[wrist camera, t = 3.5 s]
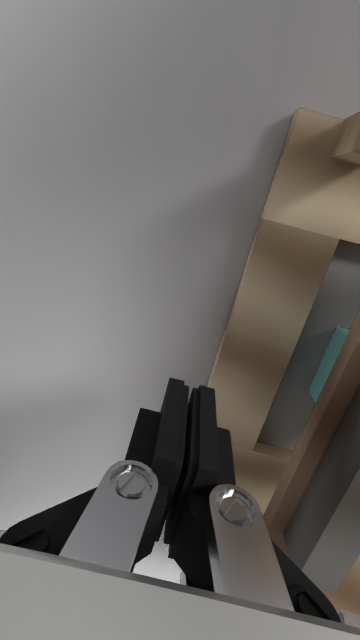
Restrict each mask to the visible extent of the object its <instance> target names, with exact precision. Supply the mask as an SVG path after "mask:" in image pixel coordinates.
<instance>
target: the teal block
mask: <svg viewBox="0 0 360 640" xmlns="http://www.w3.org/2000/svg"><path fill="white" fill-rule="evenodd" d="M348 332H349V329H345V328H341V327H336V330H335V332H334V334H333V336H332V338H331V341H330V343H329V345H328V347H327V350H326V352H325V354H324V356H323V359H322V361H321V363H320V365H319V367H318V370H317V372H316V374H315V376H314V379H313V381H312V383H311V385H310V387H309V392H310V394H311V396H312V398H313V400H314V402H315V403H316V401H317V399H318V397H319V395H320V393H321V390H322V388H323V386H324V384H325V382H326V380H327V378H328V375H329V373H330V371H331V369H332V367H333V365H334V363H335V360H336V358H337V356H338V354H339V352H340V350H341V347H342V345H343V343H344V341H345V339H346V337H347V335H348Z"/></svg>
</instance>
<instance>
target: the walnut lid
mask: <svg viewBox="0 0 360 640" xmlns="http://www.w3.org/2000/svg"><path fill="white" fill-rule="evenodd" d="M263 518H264V521H265V524H266V527H267V530H268V533H269V536H270V539H271V540H272V541H273V542H274V543H275V544H276V545H277V546H278V547H279V548H280V549H281V550H282V551H283V552H284V553H285V554H286V555H287V556H288V557H289V558H290V559H291V561H292V562H293V563H294V564H295V565H296V566H297V567H298V568H299V569H300V570H301V571H302V572H303V573H304V574H305V575H306V576H307V577H308V578H309V579H310V580H311V581H312V582H313V583H314V584H315V585H316V586H317V587H318V588H319V589H320V590H321V591H322V592H323V593H324V595H325V596H326V597H327V598H328V599H329V601H330V602H331V603H332V604H333V606H334V608H335V609H336V610H337V611H339V612H340V611H341V609H342V608H344V609H346V610H348V611H350V612H352V613H354V614H356V615H358V616H360V309H359V311H358V313H357V315H356V317H355V320H354V322H353V324H352V326H351V328H350V330H349V332H348V335H347V337H346V339H345V341H344V343H343V345H342V347H341V350H340V352H339V354H338V356H337V358H336V360H335V363H334V365H333V367H332V369H331V371H330V373H329V375H328V378H327V380H326V382H325V384H324V386H323V388H322V390H321V393H320V395H319V397H318V399H317V401H316V403H315V405H314V408H313V410H312V412H311V414H310V416H309V418H308V420H307V423H306V425H305V427H304V429H303V431H302V433H301V436H300V438H299V440H298V442H297V444H296V446H295V448H294V451H293V453H292V455H291V457H290V459H289V461H288V463H287V466H286V468H285V470H284V472H283V474H282V476H281V478H280V481H279V483H278V485H277V487H276V489H275V491H274V493H273V496H272V498H271V500H270V502H269V504H268V506H267V508H266V511H265V513H264V515H263Z"/></svg>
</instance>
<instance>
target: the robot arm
mask: <svg viewBox="0 0 360 640" xmlns="http://www.w3.org/2000/svg"><path fill="white" fill-rule="evenodd" d="M188 396H189V386H185V385H184V381H182V380H178V379H174V378H170V379H169V382H168V386H167V389H166V393H165V397H164V400H163V404H162V408H161V412H156V411H152V410H148V409H144V408H140V411H139V414H138V418H137V421H136V424H135V428H134V431H133V434H132V438H131V441H130V444H129V448H128V451H127V455H126V458H125V460H124V461H120V462H117V463H115V464H114V465H112V466H111V467H110V468H109V469H108V470H107V472H106V473H105V475H104V477H103V479H102V480H101V482H100V484H99V486H98V487H96V488H94V489H92V490H90V491H87V492H85V493H83V494H81V495H78V496H76V497H74V498H72V499H69V500H67V501H65V502H63V503H60V504H58V505H56V506H54V507H52V508H49V509H47V510H45V511H43V512H40V513H38V514H36V515H34V516H31V517H29V518H27V519H25V520H23V521H20V522H18V523H17V524H15V525H13V526H12V527H10V528H9V529H8V530H0V640H360V616H358V615H356V614H354V613H352V612H350V611H348V610H346V609H344V608H342V609H341V611H340V612H339V611H337V610H336V609H335V608H334V606H333V604H332V603H331V602H330V601H329V599H328V598H327V597H326V596H325V595H324V593H323V592H322V591H321V590H320V589H319V588H318V587H317V586H316V585H315V584H314V583H313V582H312V581H311V580H310V579H309V578H308V577H307V576H306V575H305V574H304V573H303V572H302V571H301V570H300V569H299V568H298V567H297V566H296V565H295V564H294V563H293V562H292V561H291V559H290V558H289V557H288V556H287V555H286V554H285V553H284V552H283V551H282V550H281V549H280V548H279V547H278V546H277V545H276V544H275V543H274V542H273V541H272V540H271V539H270V536H269V533H268V530H267V527H266V524H265V521H264V518H263V515H262V512H261V509H260V507H259V505H258V503H257V501H256V500H255V499H254V498H253V496H252V495H251V494H249V493H248V492H247V491H246V490H244V489H242V488H240V487H238V486H236V479H235V470H234V461H233V452H232V443H231V434H230V431H229V430H228V429H224V428H220V427H217V415H216V398H215V389H214V388H210V387H206V386H202V385H200V386H199V388H198V389H197V388H193V390H192V393H191V396H190V399H189V403H188ZM165 520H166V523H165ZM164 523H165V532H164V543H165V544H170V545H169V555H168V558H172V559H174V560H175V561H176V563H177V564H178V565H179V567H180V568H181V570H182V571H181V574H180V584H177V583H173V582H169V581H165V580H161V579H156V578H152V577H148V576H144V575H139V574H135V573H133V571H134V567H135V564H136V563H137V562H139V561H140V560H142V559H143V558H145V557H146V556H148V555H149V554H151V552H152V549H153V546H154V543H155V541H157V542H158V541H159V538H160V535H161V532H162V529H163V526H164Z"/></svg>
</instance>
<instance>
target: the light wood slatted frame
mask: <svg viewBox="0 0 360 640" xmlns="http://www.w3.org/2000/svg"><path fill="white" fill-rule="evenodd" d="M340 239H342V240H345V241H349V242H353V243H357V244H360V112H358V113H356V114H354V115H352V116H351V117H349V118H347V119H345V120H343V119H340V118H336V117H332V116H329V115H325V114H321V113H318V112H314V111H310V110H307V109H303V108H299V109H298V110H297V111H296V112H295V113H294V116H293V119H292V122H291V125H290V129H289V132H288V135H287V138H286V141H285V144H284V147H283V150H282V153H281V157H280V160H279V163H278V166H277V169H276V172H275V175H274V178H273V181H272V185H271V188H270V191H269V194H268V197H267V200H266V203H265V206H264V210H263V213H262V216H261V219H260V222H259V225H258V228H257V231H256V234H255V238H254V241H253V244H252V247H251V250H250V253H249V256H248V259H247V262H246V266H245V269H244V272H243V275H242V278H241V281H240V284H239V287H238V291H237V294H236V297H235V300H234V303H233V306H232V309H231V312H230V315H229V319H228V322H227V325H226V328H225V331H224V334H223V337H222V340H221V343H220V347H219V350H218V353H217V356H216V359H215V362H214V365H213V368H212V372H211V375H210V378H209V381H208V384H207V387H210V388H214V389H215V398H216V415H217V427H220V428H224V429H228V430H229V431H230V434H231V443H232V452H233V461H234V470H235V479H236V486H238V487H240V488H242V489H244V490H246V491H247V492H248V493H249V494H251V495H252V496H253V498H254V499H255V500H256V501H257V503H258V505H259V507H260V509H261V512H262V513H265V511H266V508H267V506H268V504H269V502H270V500H271V498H272V496H273V493H274V491H275V489H276V487H277V485H278V483H279V481H280V478H281V476H282V474H283V472H284V470H285V468H286V466H287V463H288V461H289V459H290V457H291V455H292V453H293V451H291V450H287V449H283V448H279V447H275V446H271V445H267V444H263V443H259V442H257V439H258V437H259V434H260V432H261V429H262V427H263V425H264V422H265V420H266V417H267V415H268V412H269V410H270V407H271V405H272V403H273V400H274V398H275V395H276V393H277V390H278V388H279V386H280V383H281V381H282V378H283V376H284V373H285V371H286V369H287V366H288V364H289V361H290V359H291V356H292V354H293V352H294V349H295V347H296V344H297V342H298V339H299V337H300V334H301V332H302V330H303V327H304V325H305V322H306V320H307V317H308V315H309V313H310V310H311V308H312V305H313V303H314V300H315V298H316V296H317V293H318V291H319V288H320V286H321V283H322V281H323V279H324V276H325V274H326V271H327V269H328V266H329V264H330V261H331V259H332V257H333V254H334V252H335V249H336V247H337V244H338V242H339V240H340Z"/></svg>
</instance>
